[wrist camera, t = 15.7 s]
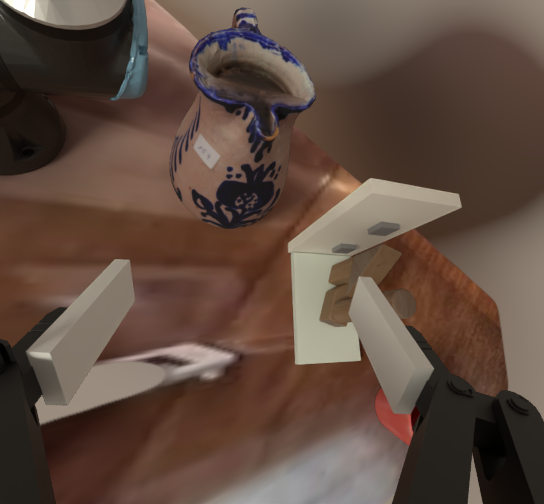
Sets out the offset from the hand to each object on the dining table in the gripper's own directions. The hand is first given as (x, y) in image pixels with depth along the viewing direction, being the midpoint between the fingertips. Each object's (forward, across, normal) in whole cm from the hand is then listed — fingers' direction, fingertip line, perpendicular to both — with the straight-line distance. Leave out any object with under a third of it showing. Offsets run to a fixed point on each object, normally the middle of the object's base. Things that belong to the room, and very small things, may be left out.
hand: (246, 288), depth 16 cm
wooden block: (+28, +16, -19) cm, 37 cm away
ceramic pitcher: (+38, -6, -4) cm, 38 cm away
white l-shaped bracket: (+28, +15, -20) cm, 37 cm away
